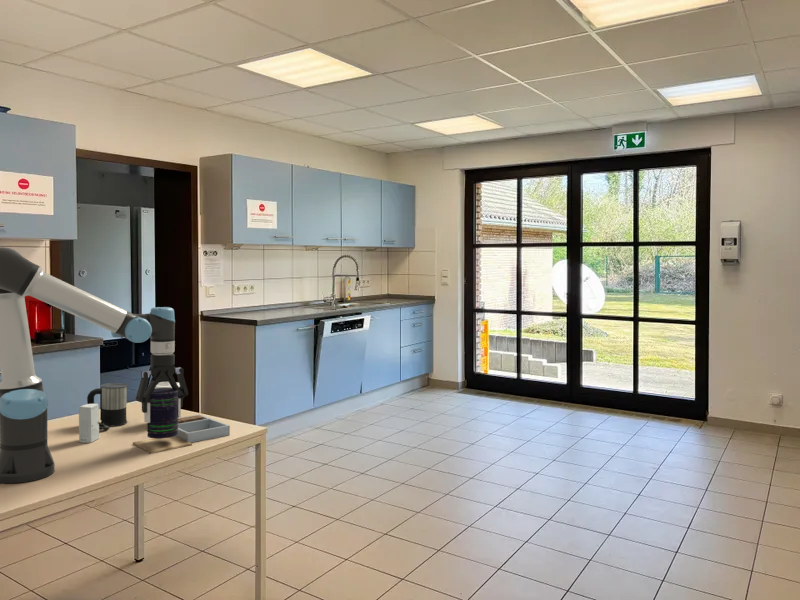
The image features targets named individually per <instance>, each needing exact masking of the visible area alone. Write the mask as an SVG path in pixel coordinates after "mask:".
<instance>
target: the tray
mask: <svg viewBox="0 0 800 600" xmlns="http://www.w3.org/2000/svg"><path fill="white" fill-rule="evenodd" d="M196 415H197V414H194V415H192V416H196ZM199 415H200V416H203V417H204V419H203V420H198V421H192V422H186V423H180V424H178V430H177V431H178V435H176V437H179V438H181V439H183V440H186V441H188V442H190V443H196V442H200V441H206V440H211V439H216V438H221V437H226V436H230V435H231V433H230V431H231V430H230V429H231V426H230V425H229V424H227V423H224V422H221V421H218V420H215V419H214V418H213V419H212V418H210V417H207V416H204V415H202V414H199ZM189 416H190V415H188V416H186V417H189ZM184 417H185V416H182V417H180V418H184ZM178 419H179V418H178Z"/></svg>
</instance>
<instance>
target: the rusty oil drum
mask: <svg viewBox="0 0 800 600" xmlns="http://www.w3.org/2000/svg"><path fill="white" fill-rule="evenodd" d="M148 402H149V403H150V423H147V422H146V423H147V424H146V429H147V437H148V438H149V439H153V438H155V439H162V438H170V437H174V436H176V435H178V431H177V430H178V417H177V407H178V389H177V390H174V389H173V388H156V389H154V391H153V393H151V397H150V399H149V401H148Z"/></svg>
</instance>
